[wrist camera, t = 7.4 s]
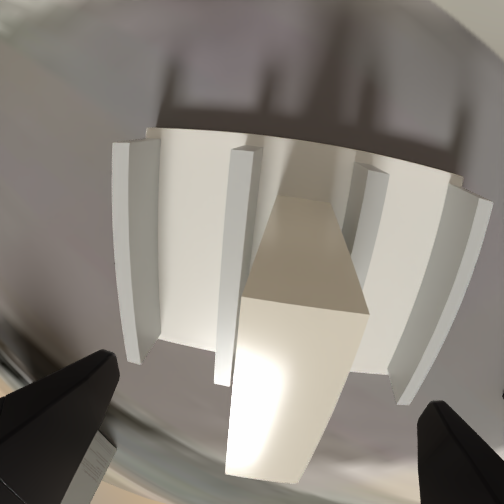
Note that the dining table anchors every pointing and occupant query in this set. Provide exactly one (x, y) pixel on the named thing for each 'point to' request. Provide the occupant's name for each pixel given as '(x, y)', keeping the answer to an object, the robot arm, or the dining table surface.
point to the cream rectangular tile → (293, 341)
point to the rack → (252, 229)
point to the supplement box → (90, 471)
